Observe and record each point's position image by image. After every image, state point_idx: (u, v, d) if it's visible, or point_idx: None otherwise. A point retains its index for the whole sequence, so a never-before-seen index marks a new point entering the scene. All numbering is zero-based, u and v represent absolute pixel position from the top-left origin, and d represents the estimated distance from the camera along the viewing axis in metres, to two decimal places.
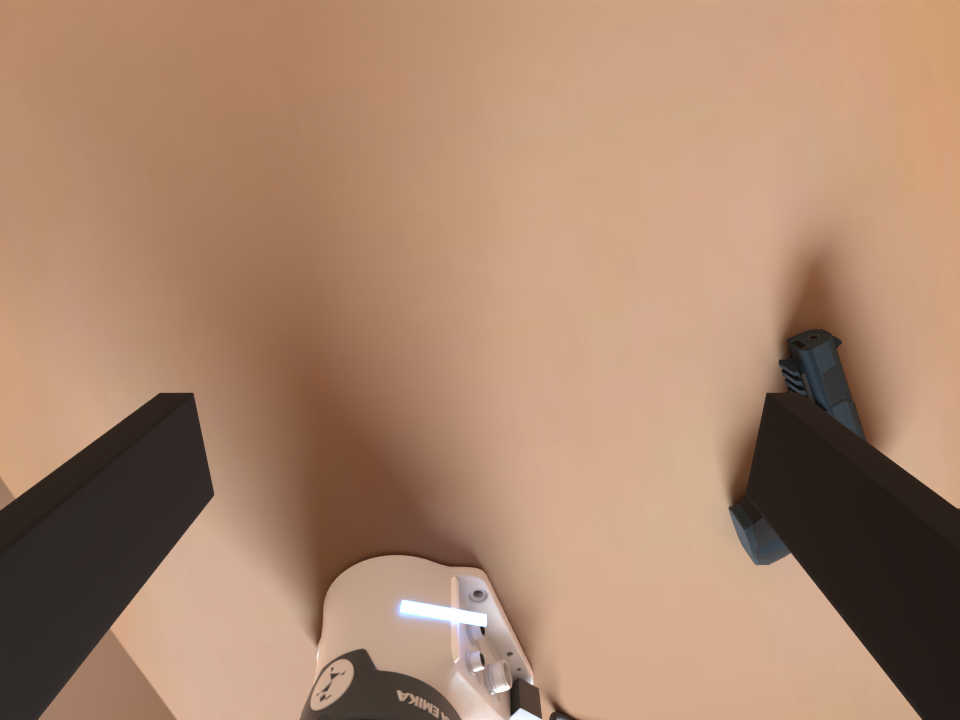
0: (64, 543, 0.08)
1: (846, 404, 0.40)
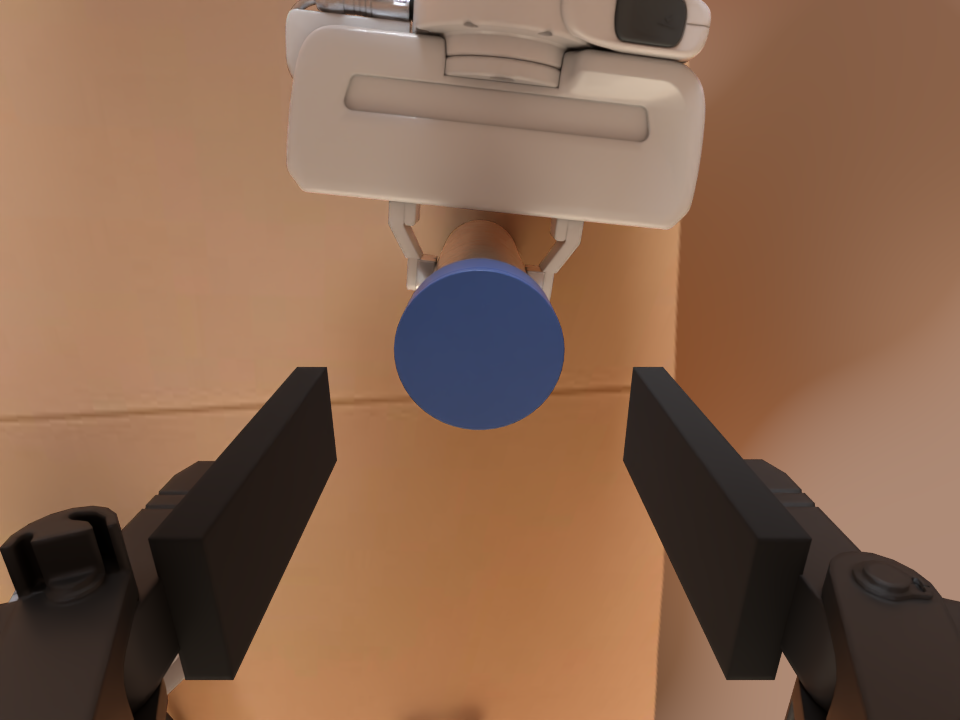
0: (268, 485, 0.10)
1: None
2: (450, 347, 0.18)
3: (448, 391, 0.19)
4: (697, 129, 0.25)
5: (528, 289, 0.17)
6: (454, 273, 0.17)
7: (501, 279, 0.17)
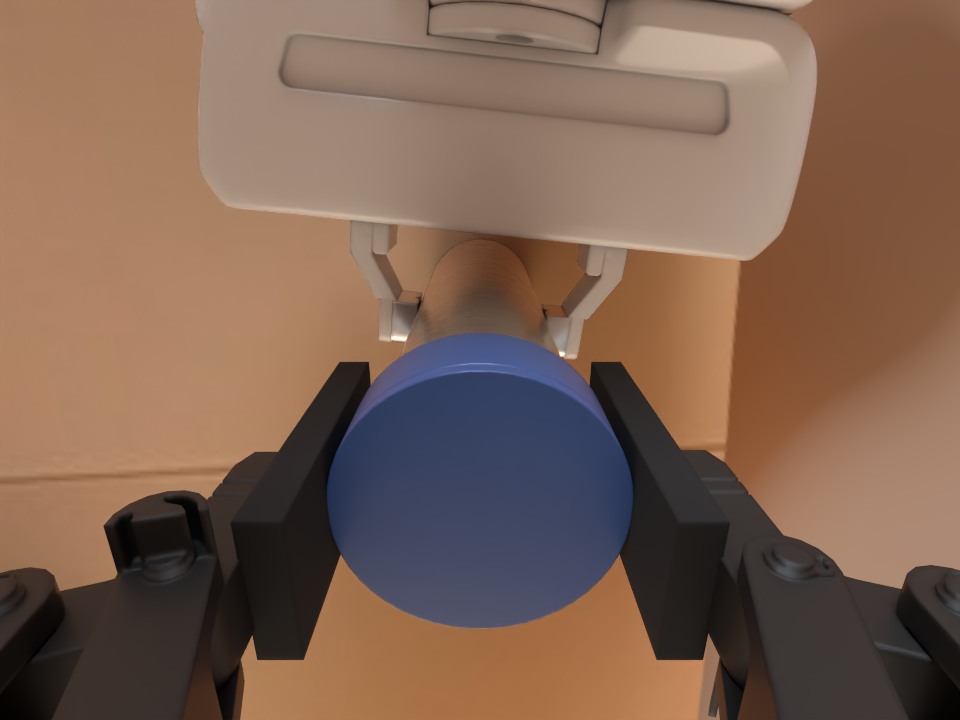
0: (327, 474, 0.10)
1: None
2: (428, 501, 0.10)
3: (425, 571, 0.11)
4: (804, 116, 0.17)
5: (572, 405, 0.09)
6: (433, 376, 0.09)
7: (521, 387, 0.09)
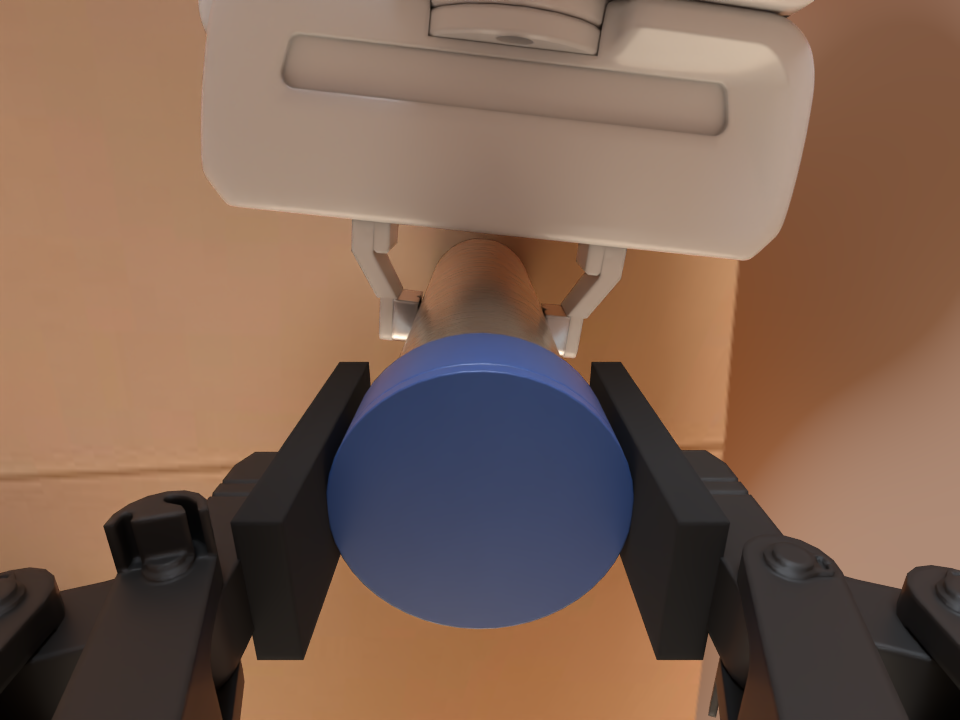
0: (327, 474, 0.10)
1: None
2: (489, 555, 0.11)
3: (568, 530, 0.10)
4: (801, 117, 0.17)
5: (332, 491, 0.10)
6: (372, 590, 0.11)
7: (342, 532, 0.10)
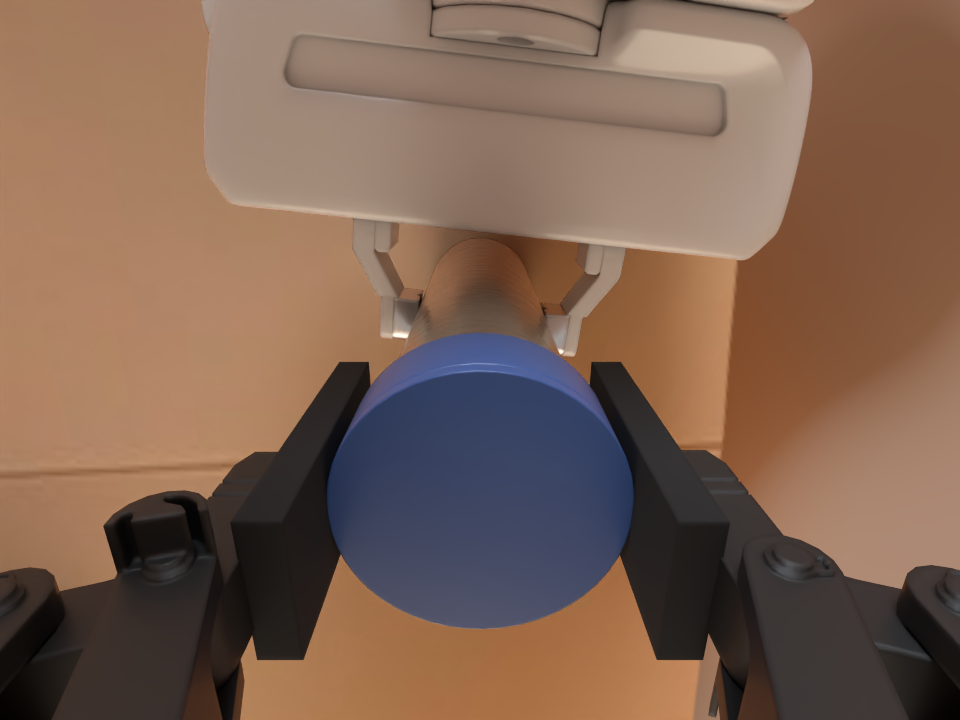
0: (327, 474, 0.10)
1: None
2: (524, 487, 0.10)
3: (459, 433, 0.10)
4: (799, 118, 0.17)
5: (515, 622, 0.11)
6: (614, 560, 0.11)
7: (555, 603, 0.11)
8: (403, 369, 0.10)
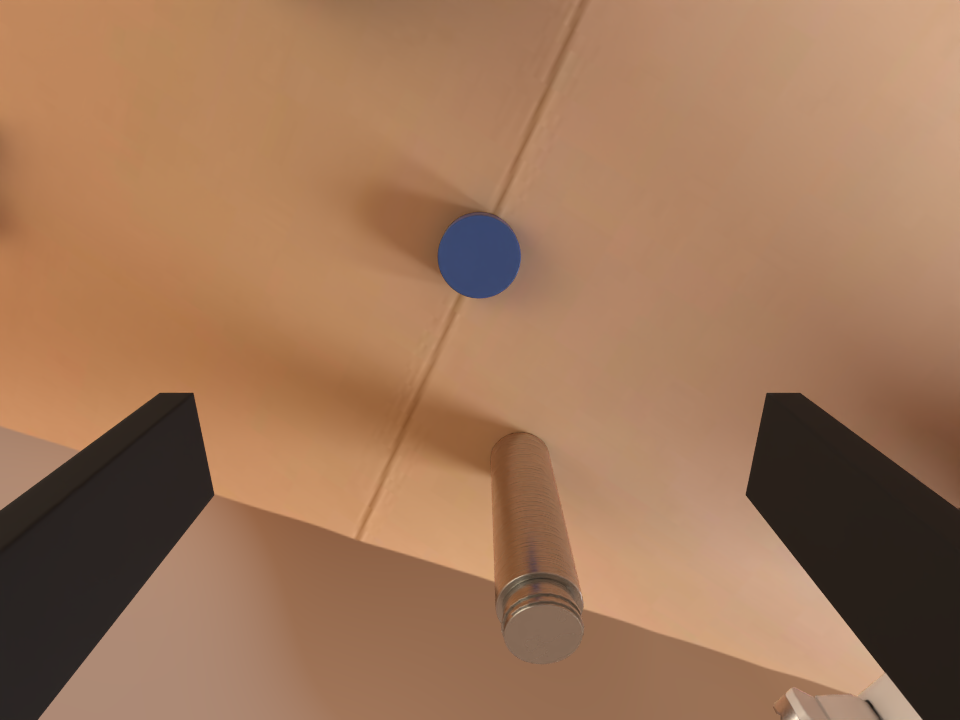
0: (64, 543, 0.08)
1: None
2: (466, 250, 0.37)
3: (459, 273, 0.38)
4: None
5: (509, 231, 0.37)
6: (477, 215, 0.37)
7: (498, 223, 0.37)
8: None
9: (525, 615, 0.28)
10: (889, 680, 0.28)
